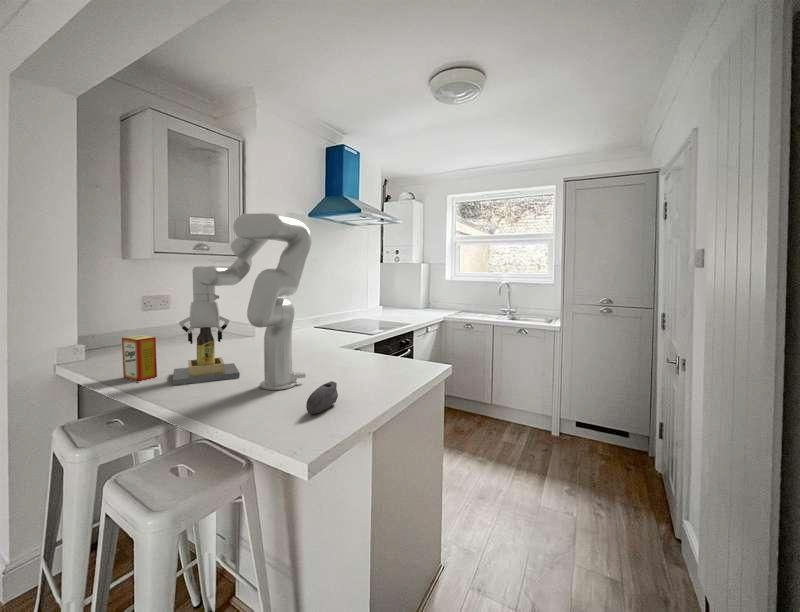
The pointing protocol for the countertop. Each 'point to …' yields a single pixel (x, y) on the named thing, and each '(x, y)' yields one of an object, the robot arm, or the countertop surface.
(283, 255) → the robot arm
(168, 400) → the countertop surface
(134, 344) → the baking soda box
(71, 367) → the countertop surface
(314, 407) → the perforated stone tool
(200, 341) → the sauce bottle
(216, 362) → the wooden tray on slab
